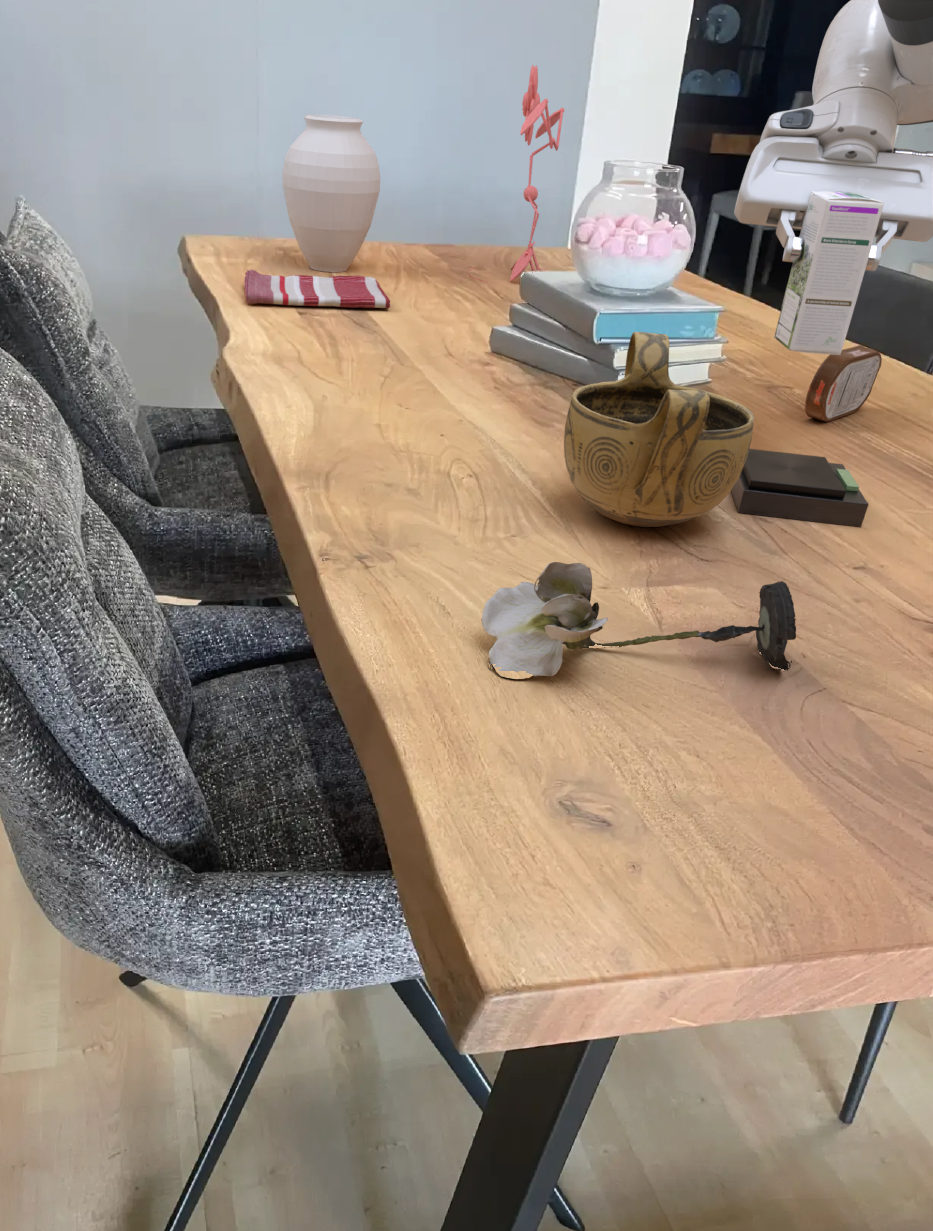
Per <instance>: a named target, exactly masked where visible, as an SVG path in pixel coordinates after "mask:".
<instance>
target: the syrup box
mask: <svg viewBox="0 0 933 1231" xmlns="http://www.w3.org/2000/svg"><path fill="white" fill-rule="evenodd" d="M883 205H884V202H882V201H879V200H876V199H873V198H870V197H867V196H864V195H860V194H855V193H850V192H841V191H811V193H810V197H809V205H808V209H807V211H806V213H805V217H804V221H803V225H802V228H801V229H800V233H799V236H798V237H799V238H804V239H803V244H802V251H801V255H800V258H799V260H798V262H792V265H791V269H790V271H789V272H790V273H789V277H788V281H787V284H786V287H785V292H784V296H783V299H782V304H781V309H780V312H779V317H778V321H777V324H776V328H775V333H774V335H773V338H774V339H775V340H776V341H777V342H778V343H779V344H781V345H782V346H783V347H785V348H786V349H787V350H788V351H791V352H795V353H797V352H798V353H803V354H804V353H805V354H814V355H815V354H816V355H817V354H818V355H841V352H842V350H843V349H844V345H845V341H846V339H847V335H848V332H849V328H850V325H851V322H852V318H853V314H854V311H855V307H856V303H857V301H858V297H859V294H860V290H861V286H862V283H863V279H864V276H865V272H866V270H865V269H866V265H867V262H868V258H869V254H870V251H871V247H872V245H874V244H873V243H874V240H875V237H874V236H875V233H876V229H877V226H878V222H879V219H880V215H881V212H882V209H883Z"/></svg>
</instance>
